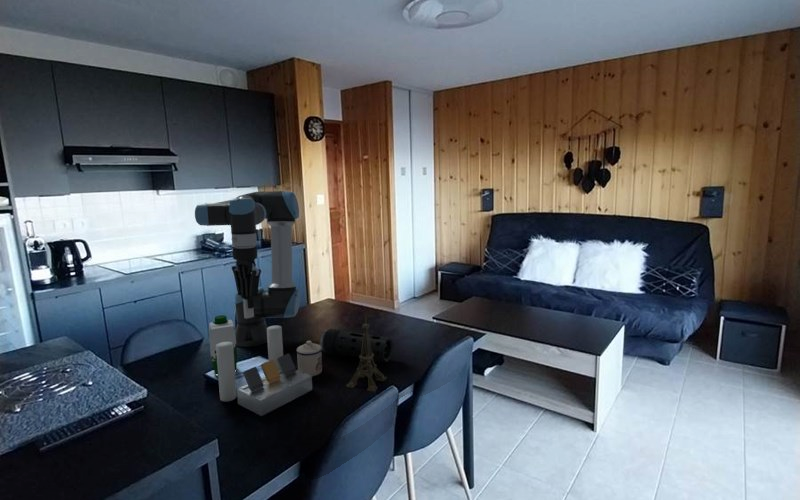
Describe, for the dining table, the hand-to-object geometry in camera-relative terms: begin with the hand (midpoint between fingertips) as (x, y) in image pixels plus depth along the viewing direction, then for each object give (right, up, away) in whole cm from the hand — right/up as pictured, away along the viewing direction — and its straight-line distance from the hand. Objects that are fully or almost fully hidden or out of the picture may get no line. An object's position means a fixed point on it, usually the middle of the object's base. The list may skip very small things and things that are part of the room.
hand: (249, 317), depth 143 cm
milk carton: (-14, -22, +16) cm, 31 cm away
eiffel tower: (+38, -24, +7) cm, 46 cm away
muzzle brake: (+32, -20, +27) cm, 47 cm away
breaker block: (+10, -25, -3) cm, 27 cm away
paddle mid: (+10, -20, -4) cm, 23 cm away
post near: (-6, -25, -3) cm, 26 cm away
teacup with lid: (+17, -22, +17) cm, 32 cm away
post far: (+6, -23, +12) cm, 26 cm away
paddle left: (+6, -21, -9) cm, 24 cm away
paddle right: (+14, -19, +2) cm, 24 cm away
